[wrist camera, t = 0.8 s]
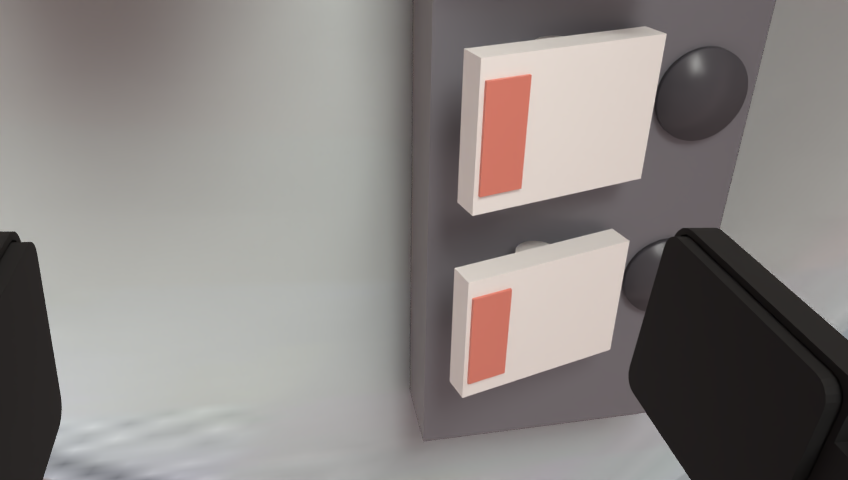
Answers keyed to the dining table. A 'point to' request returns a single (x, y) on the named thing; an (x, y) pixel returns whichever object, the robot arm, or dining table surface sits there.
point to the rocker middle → (555, 116)
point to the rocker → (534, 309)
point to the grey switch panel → (575, 213)
